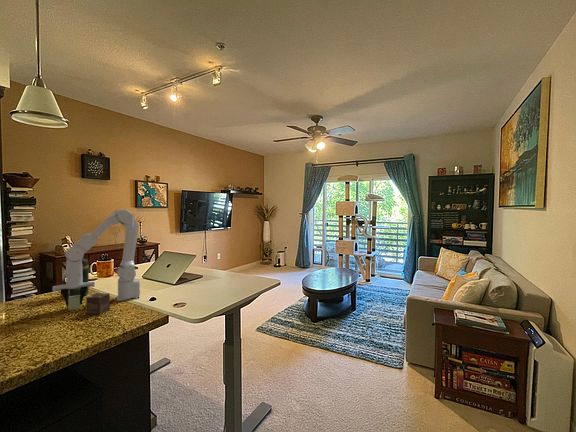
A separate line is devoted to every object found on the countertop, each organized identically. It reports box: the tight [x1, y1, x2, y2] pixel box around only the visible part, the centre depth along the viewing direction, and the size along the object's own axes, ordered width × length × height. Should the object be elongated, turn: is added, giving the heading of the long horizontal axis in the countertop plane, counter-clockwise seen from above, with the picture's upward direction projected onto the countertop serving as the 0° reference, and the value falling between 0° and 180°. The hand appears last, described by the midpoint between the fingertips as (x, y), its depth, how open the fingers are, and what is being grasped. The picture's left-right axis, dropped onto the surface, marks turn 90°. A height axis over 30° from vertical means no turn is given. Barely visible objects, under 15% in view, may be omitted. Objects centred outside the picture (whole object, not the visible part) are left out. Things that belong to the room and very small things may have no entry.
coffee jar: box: [69, 257, 90, 296], centre depth 139 cm, size 10×8×19 cm
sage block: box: [67, 295, 82, 311], centre depth 120 cm, size 4×4×5 cm
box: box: [85, 292, 111, 316], centre depth 116 cm, size 6×6×7 cm
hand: (74, 304), depth 120 cm, fingers closed on sage block, 4 cm apart
